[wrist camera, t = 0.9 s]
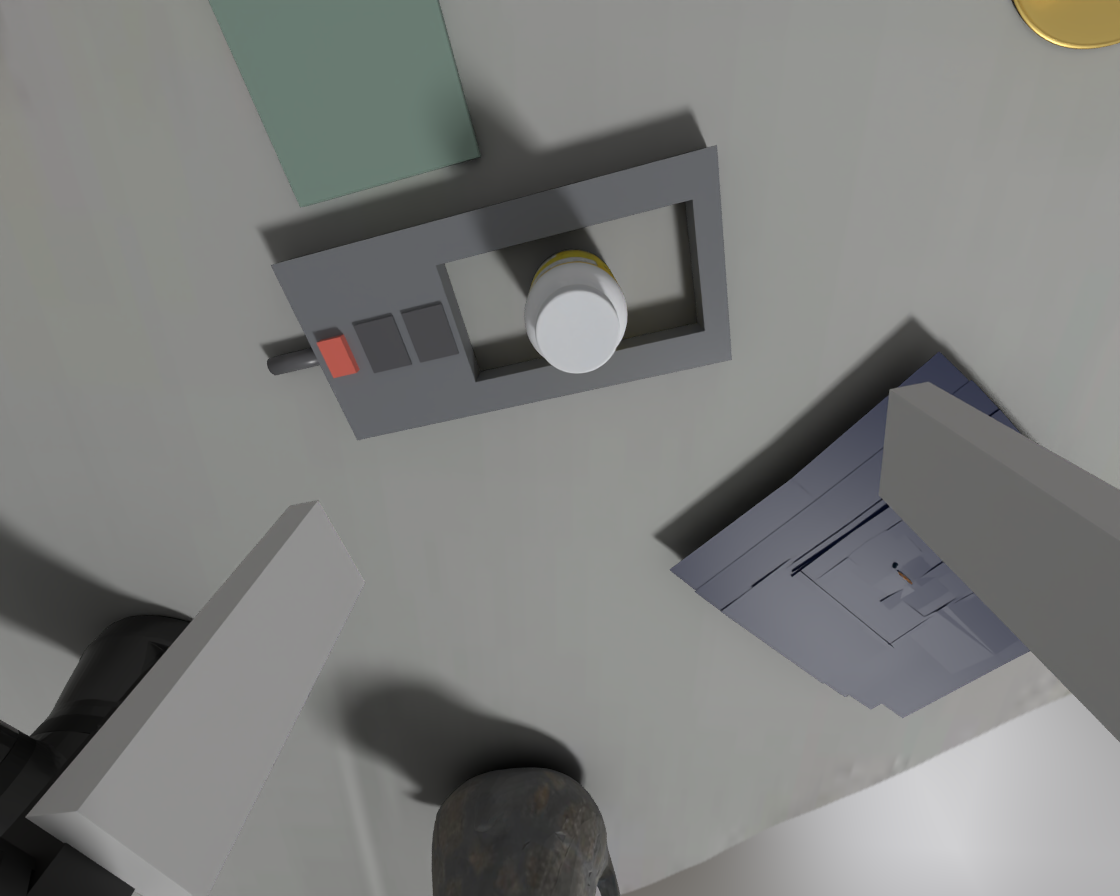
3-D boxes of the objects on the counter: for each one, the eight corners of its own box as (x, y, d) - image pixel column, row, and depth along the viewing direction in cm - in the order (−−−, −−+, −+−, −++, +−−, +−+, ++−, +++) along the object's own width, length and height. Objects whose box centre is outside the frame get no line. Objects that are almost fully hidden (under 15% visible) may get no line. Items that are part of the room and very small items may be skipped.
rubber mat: (305, 206, 29) (300, 206, 28) (197, -38, 24) (189, -43, 23) (480, 156, 28) (479, 156, 27) (408, -114, 22) (404, -120, 22)
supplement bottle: (616, 331, 32) (633, 386, 24) (534, 336, 33) (523, 391, 24) (615, 244, 30) (636, 270, 21) (527, 249, 30) (512, 276, 21)
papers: (870, 701, 50) (890, 736, 47) (661, 550, 42) (668, 579, 39) (1122, 563, 41) (1168, 594, 38) (916, 336, 33) (953, 351, 30)
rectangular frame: (318, 438, 37) (301, 455, 34) (230, 275, 31) (204, 283, 29) (723, 350, 33) (734, 362, 31) (707, 147, 27) (720, 144, 25)
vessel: (390, 775, 59) (315, 1026, 42) (541, 717, 53) (529, 982, 36) (496, 848, 68) (471, 1081, 50) (636, 805, 62) (664, 1053, 44)
